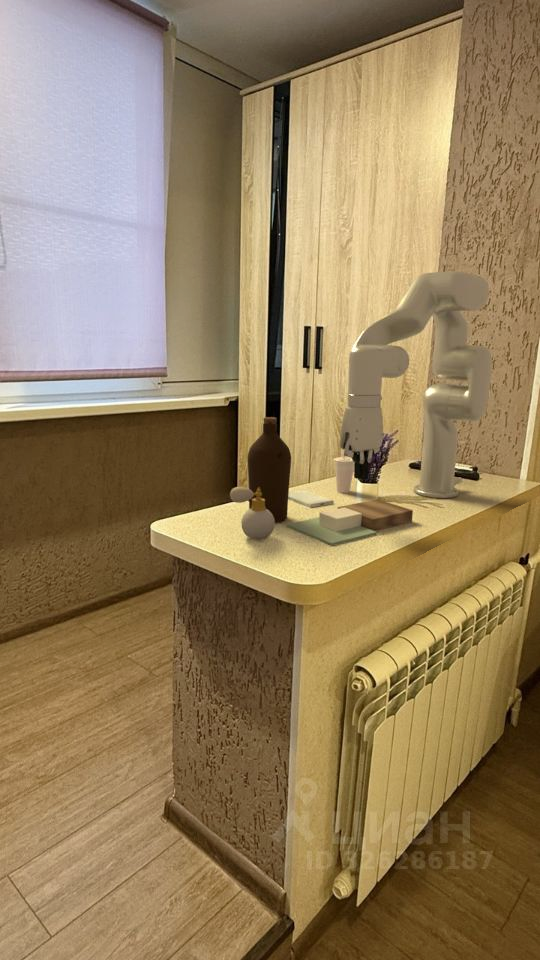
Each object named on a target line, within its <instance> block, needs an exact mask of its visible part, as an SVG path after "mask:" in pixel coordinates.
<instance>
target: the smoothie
mask: <svg viewBox="0 0 540 960" xmlns="http://www.w3.org/2000/svg"><path fill="white" fill-rule="evenodd" d="M344 451H345V449H342V456H339V457H334V459H333V463H334V469H335V470H334V471H335V472H334V473H335V483H336V492H337V493H340V494H349V493H350V492H351V485H352V480H353V477H354V464H355V462H353V461H352V458H351V457H346V456H344Z"/></svg>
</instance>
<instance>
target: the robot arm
mask: <svg viewBox="0 0 540 960" xmlns="http://www.w3.org/2000/svg"><path fill="white" fill-rule="evenodd" d="M489 295H490V289H489V285H488V282H487V281H486V279H485V278H484V277H482V276H480V275H477V274H471V273H467V272H464V271H438V272H437V271H436V272H426V273H423V274H420V275H418V276H417V277H416V278H415V279H413V282H411V285H410V286H409V288H408V289H407V291H406V292H405V294H404V295H403V297H402V298H401V300H400V301H399V303H398V305H397V306H396V307H395V309H394V310H392V311H391V312H390V313H387V314H386V315H384V316H382V317H381V318H379V319H378V320H376V321H375V322H373V323H371V325H369V326H368V327H366V328H365V329H364V330H363V331H362V332H361V334H359V337H358V338H357V340H356V341H355V343H354V344H353V346H352V349H351V350H350V352H349V356H348V382H347V383H348V385H347V387H348V389H347V407H345V408H344V412H343V416H342V420H341V427H340V440H339V446H340V449H342V450H343V449H345V451H344V456H345V457H349V458H352V461H353V462H355V464H354V470H353V477H354V479H357V480H360V481H365V480H368V479H369V472H370V471H369V469H370V467H369V466H370V463H371V462H372V458H373V456H374V454H375V455H376V454H377V453H379V452H380V450H381V446H382V445H383V440H384V439H383V438H384V419H383V409H382V407H381V406H382V405H381V402H382V400H383V397H382V385H383V383H382V379H384V378H385V379H387V378H388V379H396V378H399V377H401V376H403V375H404V374H405V373H406V372H407V370H408V368H409V367H410V356H409V354H408V352H407V350H405V348H404V347H402V346H398V345H391V344H393V343H396V342H398V341H402V340H406V339H409V338H411V337H414V336H417V335H419V334H420V333H421V332H422V331H424V329H425V327H426V326H427V325H428V323H429V321H430V319H431V317H432V319H433V322H434V325H435V336H434V337H435V338H434V346H433V352H432V353H433V356H432V367H431V369H432V373H433V374H434V376H435V377H436V378H439V379H442V380H443V379H444V380H452V381H467V382H468V383H467V384H468V385H460V384H449V383H437V384H432V385H430V386H429V387H427V388H426V390H425V391H424V393H423V396H422V407H423V418H424V425H423V441H422V449H421V451H422V452H421V454H422V455H421V462H420V463H421V465H420V477H419V484H417V485H415V486H414V487H413V492H414V493H416V494H417V495H419V496H422V497H426V498H427V497H429V498H436V499H438V498H439V499H448V498H454V497H457V496H458V495H459V490H458V488H456V487H455V486H456V485H461V484H462V483H463V478H462V477H461V476H460V477H455V473H456V472H455V471H456V462H457V452H458V442H459V441H458V440H459V433H458V429H457V427H456V425H455V423H454V421H453V420H457V421H465V422H466V421H467V422H478V421H480V420H482V419H483V418H484V416H485V414H486V412H487V407H488V404H489V403H488V402H489V393H490V386H491V378H492V373H493V372H492V371H493V359H492V353H491V351H490V350H489V349H488V348H487V347H485V346H483V345H475V344H473V345H471V344H470V345H469V344H467V343H468V342H467V341H468V331H469V330H468V328H469V327H468V323H467V320H466V318H465V317H464V315H463V314H462V313H461V311H462V312H463V311H464V312H467V311H468V312H469V311H470V312H473V311H475V312H476V311H479V310H481V309H482V308H483V307H485V305H486V304H487V302H488V299H489Z"/></svg>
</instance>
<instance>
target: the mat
mask: <svg viewBox="0 0 540 960" xmlns="http://www.w3.org/2000/svg"><path fill="white" fill-rule="evenodd" d="M285 526H286V528H289V529H291V530H293V531H296V532H297V533H300V534H303V535H305V536H307V537H310V538H312V539H315V540H316V541H319V542H322V543H324V544H326V545H328V546H331V547H333V546H337V545H340V544H345V543H348V542H352V541H353V542H354V541H356V540H357V541H358V540H360V539H365V538H369V537H371V536H373V537H374V536H377V534H378V532H377V531H373V530H370V529H367V528H365V527H362V526H357V527H353V528H349V529H344V530H340V531H334V530H331V529H329V528H326V527H324V526H321V525H319V516H318V517H314V518H309V519H304V520H300V521H295V522H290V523H286V525H285Z"/></svg>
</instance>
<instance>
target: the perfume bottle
mask: <svg viewBox="0 0 540 960" xmlns="http://www.w3.org/2000/svg"><path fill="white" fill-rule="evenodd" d="M260 491H261V490H260V489H259V488H258V489H257V492H256V493H254V492H252V491H251V490H250V489H249V487H244V486H236V487H233V488H232V489H231V490H230V493H229V497H230V500H231V501H232V502H235V503H237V504H240V503H246V502H249V501H248V500H250V499H251V498H252V497H253V496H254V495H256V496H257V497H256V498H254V499H252V507H251V509H249V508H248V510H246V512H245V513H244V514H243V515H242V517H241V530H242V532H243V533H244V535H245V536H246V537H248V539H251V540H253V541H254V540H255V541H261V540H265V539H268V538H269V537H270V536H271V535H272V533H273V532H274V530H275V526H276V523H275V520H274V517H273V515H272V513H271V512H270V511H269V510H267V509H266V507H265V499H263V498H261V497H260V496H261V495H262V492H260Z"/></svg>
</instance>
